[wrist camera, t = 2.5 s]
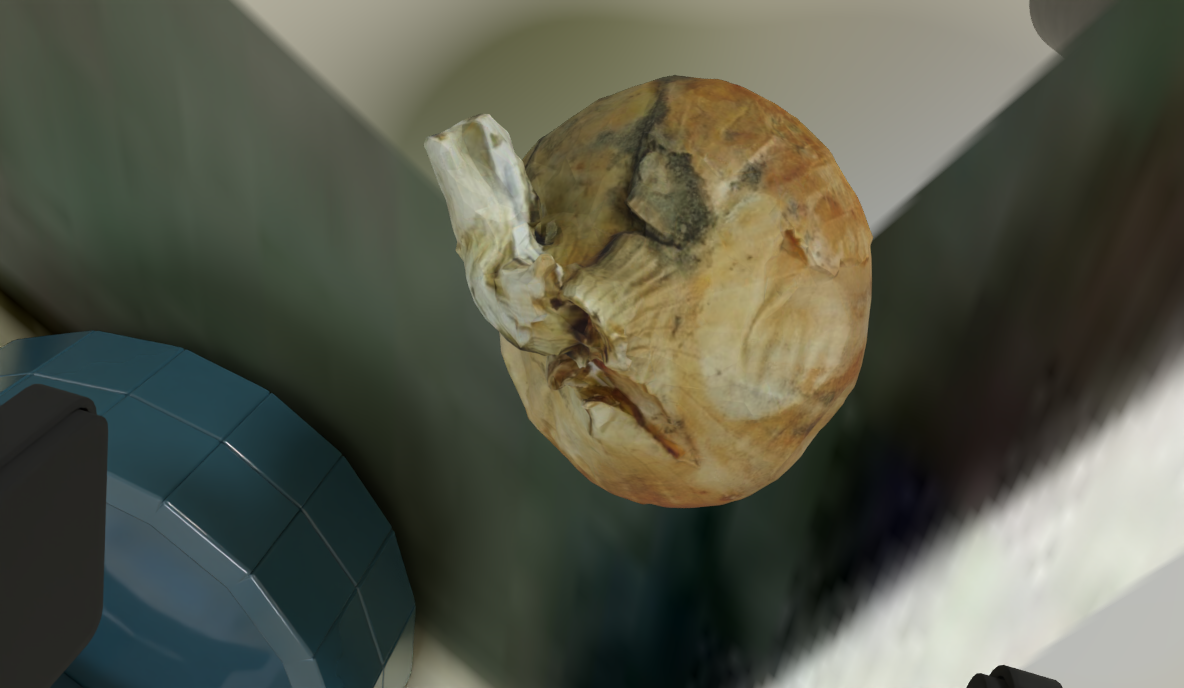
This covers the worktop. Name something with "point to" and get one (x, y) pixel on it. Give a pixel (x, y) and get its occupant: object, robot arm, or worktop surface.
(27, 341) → the bowl
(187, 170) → the worktop surface
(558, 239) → the onion
